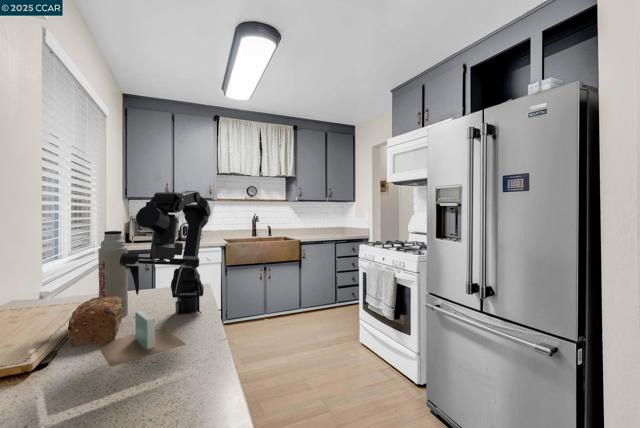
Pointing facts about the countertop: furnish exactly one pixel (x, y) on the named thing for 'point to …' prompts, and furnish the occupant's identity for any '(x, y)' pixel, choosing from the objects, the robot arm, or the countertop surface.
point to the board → (137, 347)
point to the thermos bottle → (113, 268)
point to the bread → (95, 321)
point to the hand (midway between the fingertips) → (157, 294)
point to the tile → (145, 329)
